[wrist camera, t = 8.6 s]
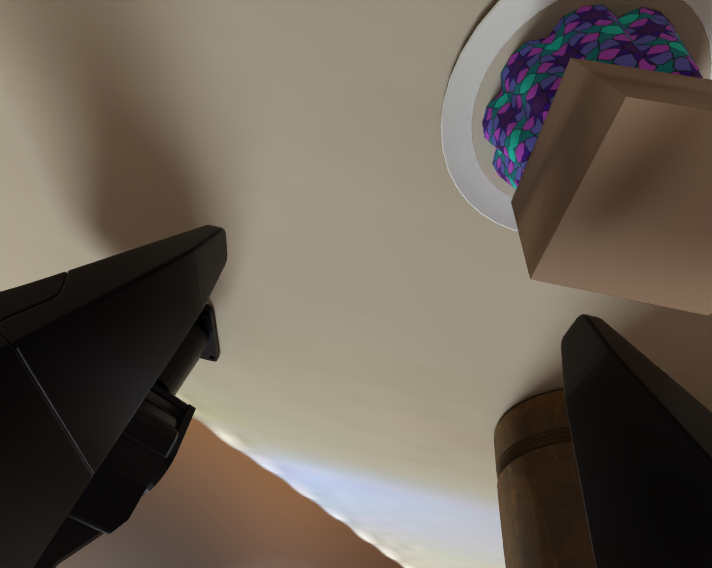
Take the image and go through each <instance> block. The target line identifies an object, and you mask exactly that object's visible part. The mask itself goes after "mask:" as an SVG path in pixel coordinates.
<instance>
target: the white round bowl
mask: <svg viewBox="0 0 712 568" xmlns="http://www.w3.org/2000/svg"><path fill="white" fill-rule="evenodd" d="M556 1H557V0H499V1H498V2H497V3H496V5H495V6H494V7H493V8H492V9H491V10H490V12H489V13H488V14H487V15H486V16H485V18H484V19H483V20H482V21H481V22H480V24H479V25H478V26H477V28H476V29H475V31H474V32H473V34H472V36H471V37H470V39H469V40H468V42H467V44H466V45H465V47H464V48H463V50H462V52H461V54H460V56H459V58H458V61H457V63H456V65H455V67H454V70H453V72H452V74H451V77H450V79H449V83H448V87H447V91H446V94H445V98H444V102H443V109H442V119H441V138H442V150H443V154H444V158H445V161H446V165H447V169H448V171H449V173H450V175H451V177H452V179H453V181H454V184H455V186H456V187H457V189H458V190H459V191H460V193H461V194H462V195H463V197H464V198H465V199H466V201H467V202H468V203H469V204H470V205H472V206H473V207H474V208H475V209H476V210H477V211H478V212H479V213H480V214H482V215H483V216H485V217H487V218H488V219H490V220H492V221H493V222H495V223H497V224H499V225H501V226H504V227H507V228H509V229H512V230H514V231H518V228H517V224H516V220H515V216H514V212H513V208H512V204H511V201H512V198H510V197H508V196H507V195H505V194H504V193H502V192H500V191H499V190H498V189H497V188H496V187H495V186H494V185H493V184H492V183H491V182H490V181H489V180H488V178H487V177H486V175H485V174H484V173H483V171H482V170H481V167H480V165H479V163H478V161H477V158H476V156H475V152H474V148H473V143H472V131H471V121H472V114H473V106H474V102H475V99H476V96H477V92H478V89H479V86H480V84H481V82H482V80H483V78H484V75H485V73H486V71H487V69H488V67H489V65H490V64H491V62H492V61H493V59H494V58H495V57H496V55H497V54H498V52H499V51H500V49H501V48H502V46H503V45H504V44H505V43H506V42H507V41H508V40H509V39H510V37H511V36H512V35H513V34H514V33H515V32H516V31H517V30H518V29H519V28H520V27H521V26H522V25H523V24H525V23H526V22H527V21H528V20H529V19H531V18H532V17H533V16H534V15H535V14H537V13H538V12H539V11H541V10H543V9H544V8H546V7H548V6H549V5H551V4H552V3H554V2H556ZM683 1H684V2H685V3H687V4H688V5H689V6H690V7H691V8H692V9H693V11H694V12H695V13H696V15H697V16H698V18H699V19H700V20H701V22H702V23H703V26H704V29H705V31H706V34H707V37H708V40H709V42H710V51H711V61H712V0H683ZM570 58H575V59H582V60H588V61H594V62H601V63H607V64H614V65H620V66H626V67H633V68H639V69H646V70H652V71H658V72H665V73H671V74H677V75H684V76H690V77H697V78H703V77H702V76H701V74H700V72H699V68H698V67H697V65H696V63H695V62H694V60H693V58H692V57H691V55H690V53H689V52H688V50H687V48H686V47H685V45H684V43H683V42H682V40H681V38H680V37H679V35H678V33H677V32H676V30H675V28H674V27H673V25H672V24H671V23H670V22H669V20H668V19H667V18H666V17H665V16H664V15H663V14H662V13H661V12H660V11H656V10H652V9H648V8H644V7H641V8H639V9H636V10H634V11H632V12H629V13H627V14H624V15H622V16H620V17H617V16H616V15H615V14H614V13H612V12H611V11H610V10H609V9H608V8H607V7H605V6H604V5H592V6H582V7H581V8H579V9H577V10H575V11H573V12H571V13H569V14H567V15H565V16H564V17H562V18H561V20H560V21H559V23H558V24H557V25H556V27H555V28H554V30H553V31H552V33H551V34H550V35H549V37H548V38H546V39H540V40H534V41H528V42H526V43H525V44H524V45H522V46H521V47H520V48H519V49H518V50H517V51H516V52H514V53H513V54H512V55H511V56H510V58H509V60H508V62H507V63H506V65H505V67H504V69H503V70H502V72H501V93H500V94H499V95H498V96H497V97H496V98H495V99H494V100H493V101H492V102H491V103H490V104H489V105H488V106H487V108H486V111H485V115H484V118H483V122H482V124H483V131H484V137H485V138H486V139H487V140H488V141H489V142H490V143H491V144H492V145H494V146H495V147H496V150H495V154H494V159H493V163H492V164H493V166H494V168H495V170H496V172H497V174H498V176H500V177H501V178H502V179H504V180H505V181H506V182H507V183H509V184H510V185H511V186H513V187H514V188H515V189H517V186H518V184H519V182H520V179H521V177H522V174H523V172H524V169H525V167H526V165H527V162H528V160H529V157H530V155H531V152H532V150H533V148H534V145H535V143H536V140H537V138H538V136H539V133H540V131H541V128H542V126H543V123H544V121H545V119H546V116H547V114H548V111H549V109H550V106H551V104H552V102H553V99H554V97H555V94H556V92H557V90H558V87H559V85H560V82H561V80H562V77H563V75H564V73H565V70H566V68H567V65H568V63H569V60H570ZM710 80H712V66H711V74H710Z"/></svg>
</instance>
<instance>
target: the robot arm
mask: <svg viewBox="0 0 712 568" xmlns="http://www.w3.org/2000/svg"><path fill="white" fill-rule="evenodd" d="M226 261H227V243H226V232H225V230H224V229H223V228H221V227H217V226H213V225H205V226H202V227H199V228H196V229H193V230H190V231H187V232H184V233H181V234H178V235H175V236H172V237H169V238H166V239H163V240H160V241H157V242H154V243H151V244H148V245H144V246H141V247H138V248H135V249H132V250H129V251H126V252H123V253H120V254H117V255H114V256H111V257H108V258H105V259H102V260H99V261H96V262H93V263H90V264H87V265H84V266H81V267H78V268H75V269H72V270H69V271H68V273H67V272H62V273H59V274H56V275H53V276H50V277H47V278H44V279H41V280H38V281H35V282H31V283H28V284H25V285H22V286H19V287H15V288H12V289H8V290H5V291H1V292H0V568H55V567H56V566H57V565H58V564H59V563H61V562H62V561H64V560H65V559H67V558H68V557H70V556H71V555H73V554H74V553H76V552H77V551H79V550H80V549H81V548H83V547H84V546H86V545H88V544H89V543H91V542H92V541H93V540H95V539H96V538H98V537H99V536H101V535H102V534H104V533H105V534H110V533H111V532H113V531H114V530H116V529H117V528H118V527H119V526H121V525H122V524H123V523H124V522H126V521H127V520H128V519H129V518H130V516H131V514H132V512H133V511H134V509H135V507H136V505H137V503H138V502H139V500H140V498H141V496H143V495H145V494H146V493H148V492H149V491H150V490H151V489H152V488H153V487H154V486H155V485H156V484H157V483H158V482H159V480H160V479H161V478H162V477H163V475H164V474H165V472H166V471H167V470H168V468H169V467H170V465H171V463H172V462H173V460H174V458H175V456H176V454H177V451H178V449H179V447H180V444H181V442H182V440H183V437H184V435H185V433H186V430H187V428H188V426H189V423H190V421H191V419H192V416H193V414H194V412H195V409H196V408H195V407H193V406H192V405H190V404H189V405H188V404H186V403H185V402H183V401H182V400H180V399H179V398H177V397H176V396H175V395H176V393H177V392H178V390H179V389H180V387H181V386H182V384H183V383H184V381H185V379H186V378H187V376H188V375H189V373H190V372H191V370H192V369H193V367H194V366H195V364H196V363H197V361H198V360H199V358H202V359H206V360H210V361H217V360H218V358H219V356H220V355H219V348H218V341H217V334H216V327H215V321H214V314H213V309H212V308H211V307H210V306H208V305H205V304H206V302H207V300H208V298H209V296H210V294H211V292H212V290H213V288H214V286H215V284H216V282H217V280H218V278H219V276H220V274H221V272H222V270H223V268H224V266H225V264H226ZM561 353H562V368H563V383H564V396H565V403H566V410H567V415H568V420H569V426H570V431H571V436H572V441H573V447H574V452H575V457H576V463H577V468H578V473H579V479H580V484H581V489H582V495H583V500H584V505H585V510H586V516H587V521H588V526H589V532H590V537H591V542H592V548H593V553H594V558H595V564H596V568H712V412H710V411H709V410H708V409H707V408H706V407H705V406H703V405H702V404H701V403H700V402H699V401H698V400H696V399H695V398H694V397H693V396H692V395H690V394H689V393H688V392H687V391H686V390H685V389H683V388H682V387H681V386H680V385H679V384H677V383H676V382H675V381H674V380H673V379H672V378H670V377H669V376H668V375H667V374H666V373H665V372H663V371H662V370H661V369H660V368H659V367H657V366H656V365H655V364H654V363H653V362H652V361H650V360H649V359H648V358H647V357H646V356H644V355H643V354H642V353H641V352H640V351H639V350H637V349H636V348H635V347H634V346H633V345H632V344H630V343H629V342H628V341H627V340H626V339H624V338H623V337H622V336H621V335H620V334H619V333H617V332H616V331H615V330H614V329H613V328H611V327H610V326H609V325H608V324H607V323H606V322H604V321H603V320H602V319H601V318H598V317H594V316H590V315H586V314H583V315H580V316H579V317H578V318H577V319H576V320H575V321H574V323H573V324H572V325H571V327H570V328H569V330H568V331H567V332H566V334H565V335H564V336H563V339H562V342H561Z"/></svg>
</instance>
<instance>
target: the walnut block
mask: <svg viewBox="0 0 712 568" xmlns="http://www.w3.org/2000/svg"><path fill="white" fill-rule="evenodd" d="M511 204H512V208H513V212H514V216H515V220H516V224H517V228H518V232H519V236H520V240H521V244H522V248H523V252H524V256H525V260H526V264H527V268H528V272H529V276H530V279H532V280H537V281H542V282H547V283H552V284H556V285H561V286H566V287H571V288H576V289H581V290H586V291H590V292H595V293H600V294H605V295H610V296H615V297H620V298H625V299H629V300H634V301H639V302H644V303H649V304H654V305H659V306H664V307H668V308H673V309H678V310H683V311H688V312H693V313H698V314H703V315H707V316H709V315H710V314H711V313H712V80H709V79H703V78H697V77H690V76H684V75H677V74H671V73H665V72H658V71H652V70H646V69H639V68H633V67H626V66H620V65H614V64H607V63H601V62H594V61H588V60H582V59H575V58H570V60H569V63H568V65H567V68H566V70H565V73H564V75H563V77H562V80H561V82H560V85H559V87H558V90H557V92H556V94H555V97H554V99H553V102H552V104H551V106H550V109H549V111H548V114H547V116H546V119H545V121H544V123H543V126H542V128H541V131H540V133H539V136H538V138H537V140H536V143H535V145H534V148H533V150H532V152H531V155H530V157H529V160H528V162H527V165H526V167H525V169H524V172H523V174H522V177H521V179H520V182H519V184H518V186H517V189H516V191H515V194H514V196H513V198H512V201H511Z"/></svg>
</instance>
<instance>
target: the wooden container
mask: <svg viewBox="0 0 712 568" xmlns="http://www.w3.org/2000/svg"><path fill="white" fill-rule="evenodd" d="M494 446H495V460H496V472H497V478H498V483H497V488H498V500H499V510H500V520H501V529H502V538H503V548H504V557H505V565H506V568H596V564H595V558H594V553H593V548H592V542H591V537H590V532H589V526H588V521H587V516H586V510H585V505H584V500H583V495H582V489H581V484H580V479H579V473H578V468H577V463H576V457H575V452H574V447H573V441H572V436H571V431H570V426H569V420H568V415H567V410H566V403H565V396H564V390H558V391H553V392H549V393H545V394H542V395H539V396H536V397H533V398H531V399H529V400H526V401H524V402H523V403H521V404H519V405H517V406H516V407H514V408H513V409H512V410H510V411H509V412H508V413H507V414H506V415H504V417H503V418H502V419H501V420H500V421H499V423H498V425H497V427H496V430H495V433H494Z"/></svg>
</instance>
